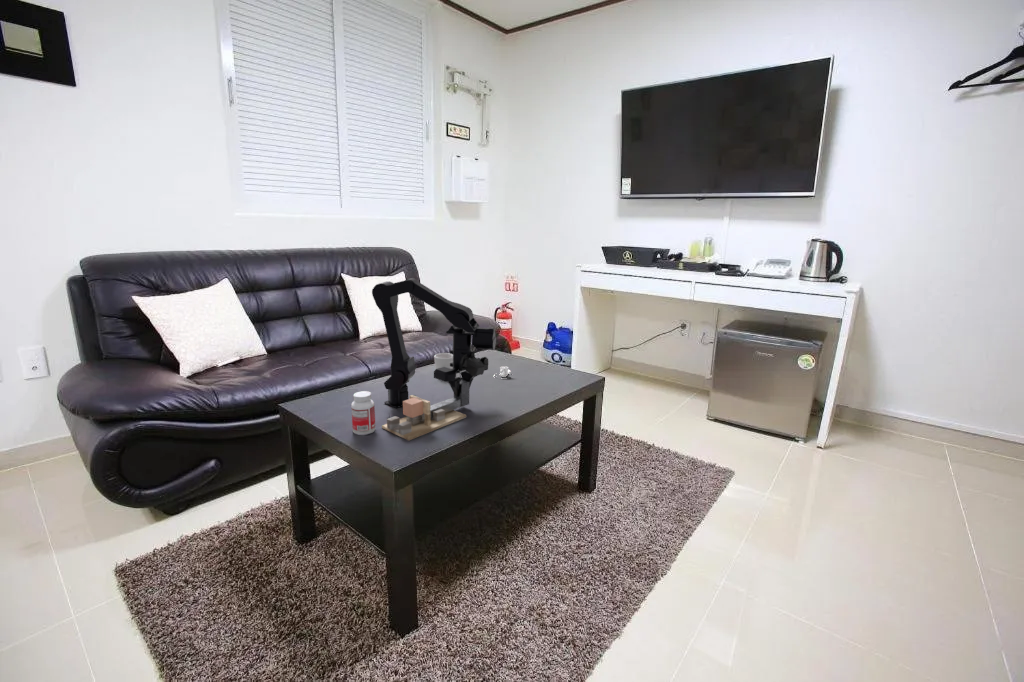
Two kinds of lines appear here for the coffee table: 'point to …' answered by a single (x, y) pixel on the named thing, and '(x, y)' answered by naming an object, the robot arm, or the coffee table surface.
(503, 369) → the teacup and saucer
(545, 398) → the coffee table surface
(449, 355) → the cup
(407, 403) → the block
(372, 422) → the pill bottle
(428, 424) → the rail
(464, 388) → the grey metal bar
